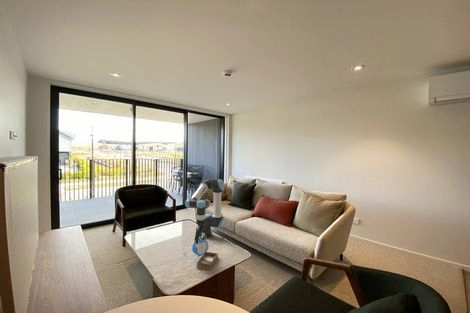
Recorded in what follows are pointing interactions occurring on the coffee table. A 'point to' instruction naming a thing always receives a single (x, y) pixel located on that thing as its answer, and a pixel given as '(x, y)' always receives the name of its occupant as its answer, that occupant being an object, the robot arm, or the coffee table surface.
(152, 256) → the coffee table surface
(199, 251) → the alarm clock
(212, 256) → the open rectangular wooden box
